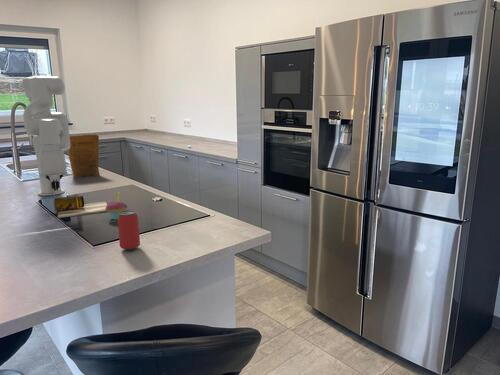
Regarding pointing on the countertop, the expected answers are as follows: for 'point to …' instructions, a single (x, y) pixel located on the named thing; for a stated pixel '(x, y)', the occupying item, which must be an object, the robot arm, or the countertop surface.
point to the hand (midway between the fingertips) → (56, 189)
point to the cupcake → (116, 208)
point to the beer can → (128, 229)
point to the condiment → (68, 203)
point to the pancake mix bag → (84, 155)
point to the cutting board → (84, 210)
